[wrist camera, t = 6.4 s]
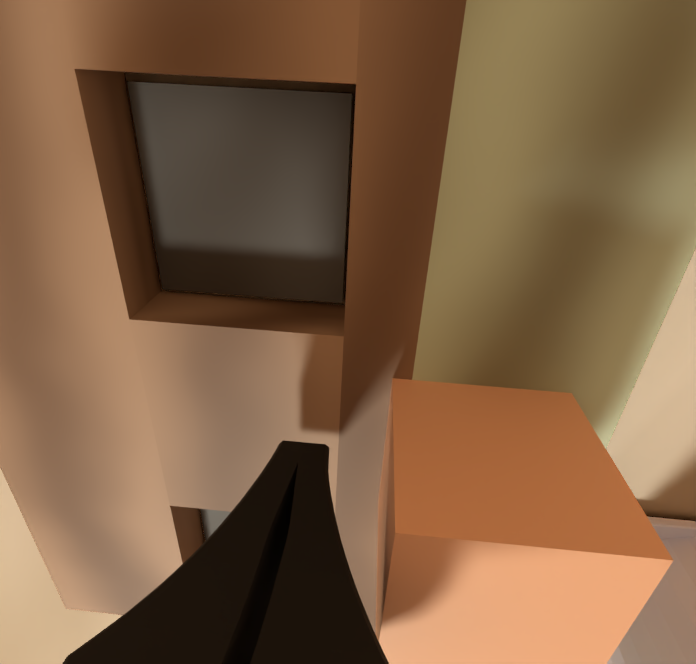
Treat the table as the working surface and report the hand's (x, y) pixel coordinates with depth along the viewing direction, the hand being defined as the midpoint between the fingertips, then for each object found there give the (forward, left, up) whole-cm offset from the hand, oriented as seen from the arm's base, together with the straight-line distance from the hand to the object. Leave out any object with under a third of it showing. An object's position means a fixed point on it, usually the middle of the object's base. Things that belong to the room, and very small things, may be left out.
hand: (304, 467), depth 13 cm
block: (-5, 0, -1) cm, 5 cm away
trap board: (+1, 0, -3) cm, 3 cm away
